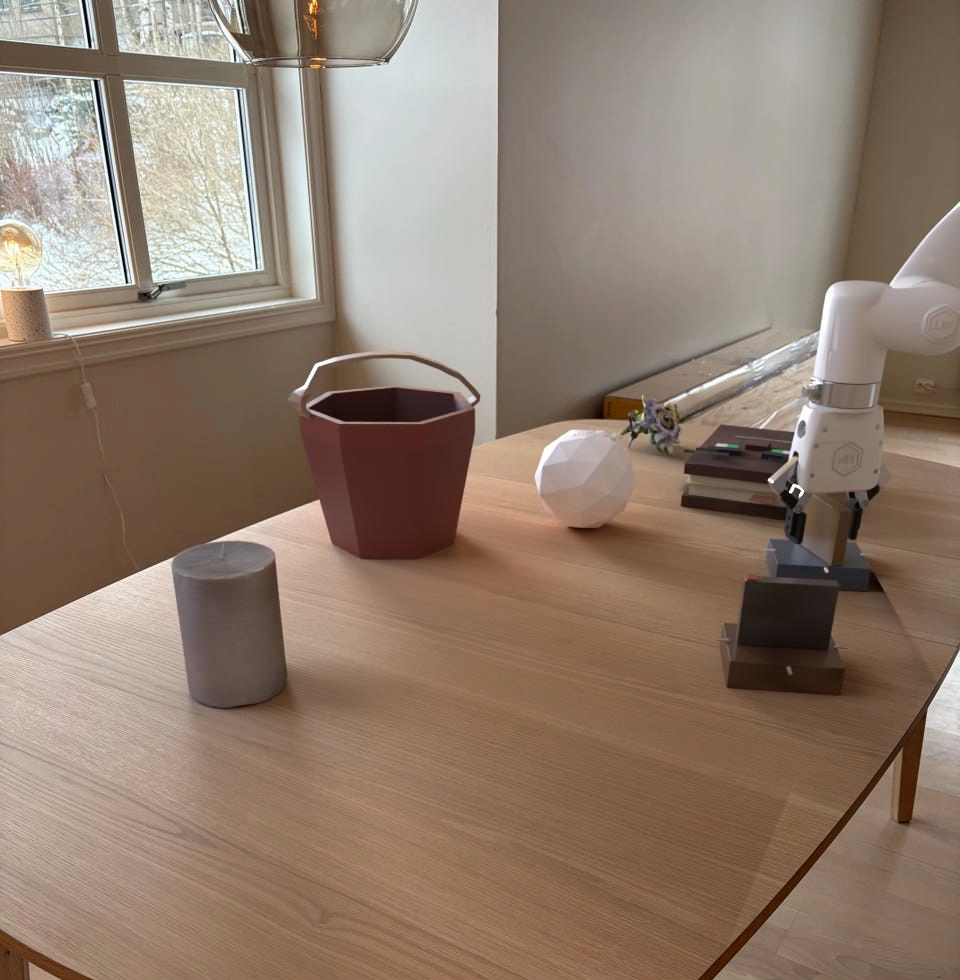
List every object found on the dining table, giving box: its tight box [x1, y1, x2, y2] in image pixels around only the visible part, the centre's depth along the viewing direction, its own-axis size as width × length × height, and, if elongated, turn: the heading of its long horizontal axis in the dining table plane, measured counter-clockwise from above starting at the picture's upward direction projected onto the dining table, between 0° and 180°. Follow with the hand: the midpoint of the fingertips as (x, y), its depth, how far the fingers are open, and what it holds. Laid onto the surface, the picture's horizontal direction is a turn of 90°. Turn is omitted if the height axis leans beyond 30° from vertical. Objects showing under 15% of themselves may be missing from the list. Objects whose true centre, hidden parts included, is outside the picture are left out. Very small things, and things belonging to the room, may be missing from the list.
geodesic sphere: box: [534, 428, 637, 529], centre depth 139 cm, size 15×14×14 cm
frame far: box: [800, 494, 852, 566], centre depth 122 cm, size 9×2×7 cm, turn 12°
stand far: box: [763, 538, 874, 592], centre depth 124 cm, size 13×13×3 cm
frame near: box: [736, 573, 840, 650], centre depth 99 cm, size 9×2×7 cm, turn 82°
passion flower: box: [620, 394, 682, 456], centre depth 175 cm, size 11×11×12 cm
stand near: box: [714, 622, 850, 696], centre depth 101 cm, size 13×13×3 cm
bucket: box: [286, 350, 481, 560], centre depth 131 cm, size 24×22×25 cm
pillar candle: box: [170, 540, 289, 709], centre depth 95 cm, size 10×10×15 cm
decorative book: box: [680, 424, 795, 521], centre depth 155 cm, size 19×8×30 cm
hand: (820, 537), depth 122 cm, fingers open, 6 cm apart
